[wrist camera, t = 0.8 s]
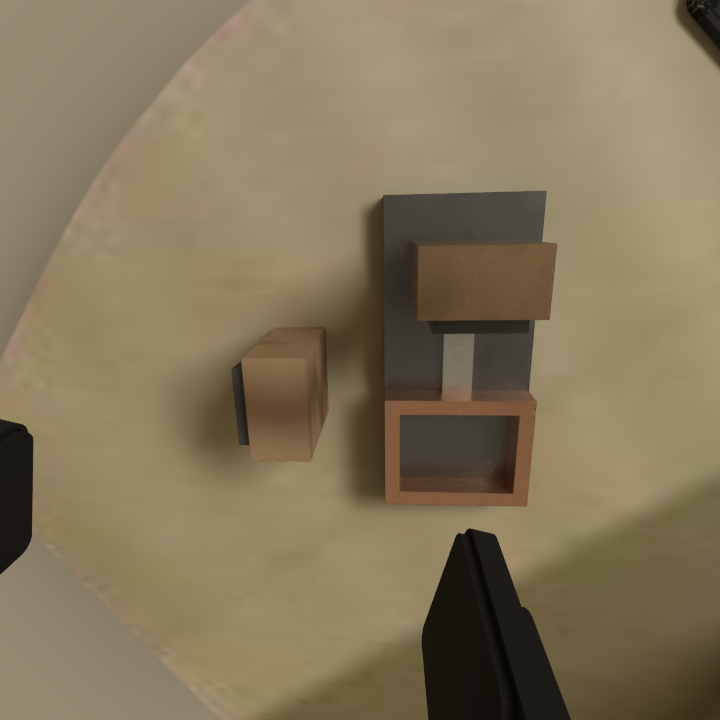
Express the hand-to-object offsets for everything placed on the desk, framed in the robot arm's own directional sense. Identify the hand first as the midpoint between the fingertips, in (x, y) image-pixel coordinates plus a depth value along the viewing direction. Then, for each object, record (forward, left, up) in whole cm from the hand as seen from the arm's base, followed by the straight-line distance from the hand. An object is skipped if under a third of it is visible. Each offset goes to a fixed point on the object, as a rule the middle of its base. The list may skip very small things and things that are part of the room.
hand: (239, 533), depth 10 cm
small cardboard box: (-4, +4, -24) cm, 24 cm away
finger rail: (-3, -8, -24) cm, 25 cm away
